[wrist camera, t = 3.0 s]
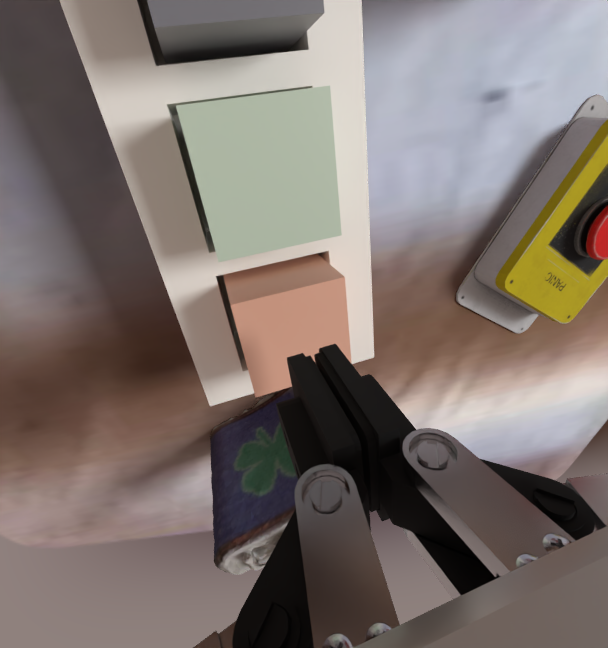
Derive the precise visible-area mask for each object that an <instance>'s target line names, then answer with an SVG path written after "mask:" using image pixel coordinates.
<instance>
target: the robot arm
mask: <svg viewBox="0 0 608 648" xmlns="http://www.w3.org/2000/svg"><path fill="white" fill-rule="evenodd" d="M314 357H315V362H314V360H313V359H312V357H311V356H306V357H305V355H304V354H303V353H301V354H297V355H294V356H290V357H287V363H288V369H289V374H290V379H291V384H292V389H293V394H294V398H291V399H288V400H285V401H282V402H279V403H276V407H277V411H278V416H279V420H280V424H281V428H282V431H283V435H284V438H285V442H286V445H287V448H288V451H289V454H290V457H291V460H292V463H293V466H294V469H295V472H296V475H297V478H298V482H297V485H296V487H295V505H296V509H295V511H294V513H293V514H292V516H291V518H290V520H289V522H288V524H287V526H286V527H285V529H284V531H283V533H282V535H281V537H280V539H279V540H278V542H277V544H276V546H275V548H274V550H273V552H272V553H271V555H270V557H269V559H268V561H267V563H266V565H265V566H264V569H263V570H262V572H261V574H260V576H259V578H258V580H257V581H256V583H255V585H254V587H253V589H252V591H251V593H250V594H249V596H248V598H247V600H246V602H245V604H244V605H243V607H242V609H241V611H240V614H239V616H238V619H237V620H236V621H235V622H234V623H232V624H231V625H230V626H228V627H227V628H226V629H224V630H223V631H222V632H220V633H219V634H218V633H217V631H215V632H213V633H212V634H211V635H209V636H208V637H207V638H205V639H204V640H203V641H201V642H200V643H199V644H197V645H196V646H195V647H193V648H608V473H606V474H599V475H591V476H584V477H576V478H569V479H567V480H566V483H563V484H562V483H560V482H557V481H555V480H552V479H549V478H546V477H542V476H539V475H535V474H531V473H528V472H524V471H521V470H517V469H514V468H510V467H507V466H503V465H500V464H496V463H493V462H489V461H485V460H482V459H479V458H478V457H476V456H475V455H474V454H473V453H472V452H471V451H469V450H468V449H467V448H466V447H465V446H463V445H462V444H461V443H460V442H459V441H458V440H456V439H455V438H454V437H452V436H451V435H449V434H448V433H446V432H443V431H441V430H438V429H431V428H424V429H418V430H416V429H415V428H414V426H413V425H412V424H411V423H410V421H409V420H408V419H407V418H406V417H405V415H404V414H403V413H402V412H401V410H400V409H399V408H398V407H397V405H396V404H395V403H394V402H393V401H392V399H391V398H390V397H389V396H388V394H387V393H386V392H385V391H384V390H383V388H382V387H381V386H380V385H379V383H378V382H377V381H376V380H375V378H374V377H373V376H372V375H369V374H368V375H365V376H362V377H361V376H360V375H359V373H358V372H357V371H356V369H355V368H354V367H353V365H352V364H351V363H350V361H349V360H348V359H347V358H346V356H345V355H344V354H343V352H342V351H341V350H340V348H339V347H338V346H337V345H336V344H332V345H329V346H325V347H322V348H319V353H316V354H315V355H314ZM369 510H370V511H371V512H373V511H377V513H378V515H379V517H380V518H381V520H382V521H384V520H387V519H389V518H390V520H391V522H392V523H393V524H394V525H397V526H399V527H402V528H403V531H404V532H405V534H406V536H407V538H408V539H409V540H410V542H411V543H412V545H413V546H414V547H415V549H416V550H417V551H418V553H419V554H420V555H421V557H422V558H423V559H424V561H425V562H426V563H427V565H428V566H429V568H430V569H431V570H432V571H433V573H434V574H435V575H436V577H437V578H438V580H439V581H440V582H441V584H442V585H443V586H444V588H445V589H446V590H447V592H448V593H449V594H450V596H451V597H452V599H453V600H451V601H449V602H447V603H445V604H443V605H441V606H439V607H436V608H434V609H432V610H430V611H428V612H426V613H424V614H422V615H420V616H418V617H416V618H414V619H412V620H410V621H408V622H405V623H404V624H401V625H400V624H399V621H398V618H397V614H396V611H395V608H394V605H393V602H392V599H391V595H390V592H389V589H388V586H387V583H386V579H385V576H384V573H383V570H382V567H381V564H380V560H379V557H378V554H377V551H376V548H375V545H374V542H373V538H372V535H371V529H370V516H369V515H370V514H369Z"/></svg>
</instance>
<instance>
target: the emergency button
mask: <svg viewBox="0 0 608 648" xmlns="http://www.w3.org/2000/svg"><path fill="white" fill-rule="evenodd" d="M607 277H608V103H607V102H606V100H605V99H604V97H602V96H600V95H594V96H592V97H590V98H588V99H587V100H586V101H585V102H584V104H583V105H582V106H581V107H580V109H579V110H578V112H577V113H576V115H575V116H574V117H573V119H572V120H571V122H570V123H569V125H568V126H567V128H566V129H565V131H564V132H563V134H562V135H561V137H560V138H559V140H558V141H557V143H556V144H555V146H554V147H553V149H552V150H551V152H550V153H549V155H548V156H547V157H546V159H545V160H544V162H543V163H542V165H541V166H540V168H539V169H538V171H537V172H536V174H535V175H534V177H533V178H532V180H531V181H530V183H529V184H528V186H527V187H526V189H525V190H524V192H523V193H522V195H521V196H520V198H519V199H518V200H517V202H516V203H515V205H514V206H513V208H512V209H511V211H510V212H509V214H508V215H507V217H506V218H505V220H504V221H503V223H502V224H501V226H500V227H499V229H498V230H497V232H496V233H495V235H494V236H493V238H492V239H491V241H490V242H489V243H488V245H487V246H486V248H485V249H484V251H483V252H482V254H481V255H480V257H479V258H478V260H477V261H476V263H475V264H474V266H473V267H472V269H471V270H470V272H469V273H468V275H467V276H466V278H465V279H464V281H463V282H462V284H461V285H460V287H459V289H458V291H457V293H456V300H457V302H458V303H459V304H461V305H463V306H465V307H466V308H468V309H470V310H472V311H474V312H476V313H478V314H480V315H482V316H484V317H486V318H488V319H490V320H492V321H494V322H496V323H497V324H499V325H501V326H503V327H505V328H507V329H509V330H511V331H513V332H515V333H522V332H524V331H525V330H527V329H528V328H529V327H530V326H531V324H532V323H533V322H534V320H535V319H536V318H537V317H538V315H540V316H543V317H546V318H548V319H551V320H552V321H556V322H559V323H563V324H565V323H568V322H570V321H571V320H572V319H573V318H574V317H575V316H576V315H577V314H578V312H579V311H580V310H581V309H582V307H583V306H584V305H585V304H586V302H587V301H588V300H589V299H590V298H591V296H592V295H593V294H594V293H595V291H596V290H597V289H598V288H599V286H600V285H601V284H602V283H603V281H604V280H605V279H606V278H607Z"/></svg>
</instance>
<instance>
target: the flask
mask: <svg viewBox="0 0 608 648" xmlns="http://www.w3.org/2000/svg"><path fill="white" fill-rule="evenodd" d="M291 398H294V394H293V389H292V387H289V388H286V389H282V390H279V391H277V392H276V393H272V394H270V395H269V396H265V397H264V398H263V399H261V400H259V402H257V403H258V404H256V406H255V407H254V408H252V409H251V410H244V411H243V413H242V414H241V415H240V416H238V417H235V418H230V419H229V420H228V421H226V422H224V423H222V424H220V425H218V426H216V427H215V428H214V429H213V431H212V433H211V436H210V437H211V438H210V441H211V470H212V493H213V516H214V518H213V527H214V529H213V532H214V539H215V543H214V563H215V565H216V566H217V567H218V568H219V569H221V570H223V571H225V572H229V573H231V574H242V573H244V572H246V571H248V570H250V569H254V570H259V569H261V568H263V567H264V566H265V565H266V564H261V563H264V562H266V561H268V559H269V557H270V555H271V553H272V552H273V550H274V548H275V546H276V544H277V542H278V540H279V539H280V537H281V535H282V533H283V531H284V529H285V527H286V526H287V524H288V522H289V520H290V518H291V516H292V514H293V513H294V511H295V509H296V505H295V487H296V485H297V482H298V478H297V475H296V472H295V469H294V466H293V463H292V460H291V457H290V454H289V451H288V448H287V445H286V442H285V438H284V435H283V431H282V428H281V424H280V420H279V416H278V411H277V407H276V403H279V402H282V401H285V400H288V399H291Z"/></svg>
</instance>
